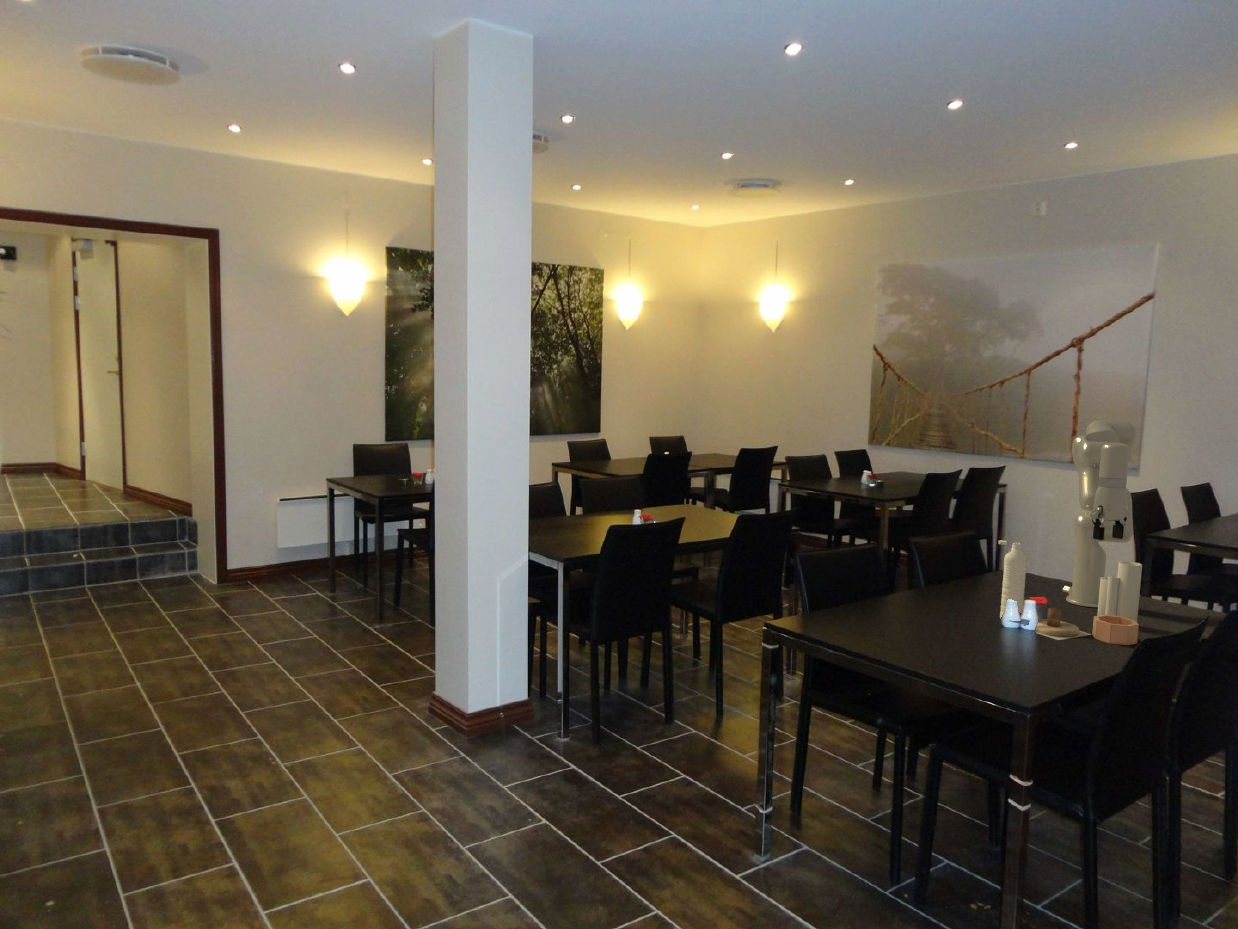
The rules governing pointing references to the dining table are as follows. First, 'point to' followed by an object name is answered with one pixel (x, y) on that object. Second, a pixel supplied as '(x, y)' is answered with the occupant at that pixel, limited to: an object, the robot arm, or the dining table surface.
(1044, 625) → the lid
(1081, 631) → the mat
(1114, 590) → the candle
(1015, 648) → the dining table surface
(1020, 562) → the water bottle
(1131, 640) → the bowl
